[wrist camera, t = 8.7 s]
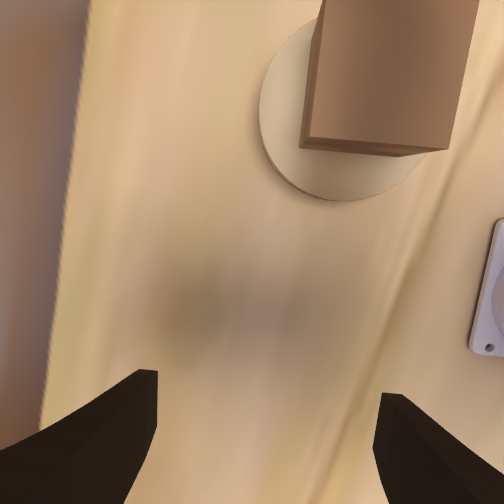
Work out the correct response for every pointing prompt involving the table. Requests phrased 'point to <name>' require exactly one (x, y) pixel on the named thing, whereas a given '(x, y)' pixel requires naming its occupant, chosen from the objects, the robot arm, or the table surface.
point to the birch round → (307, 160)
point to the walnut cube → (386, 75)
